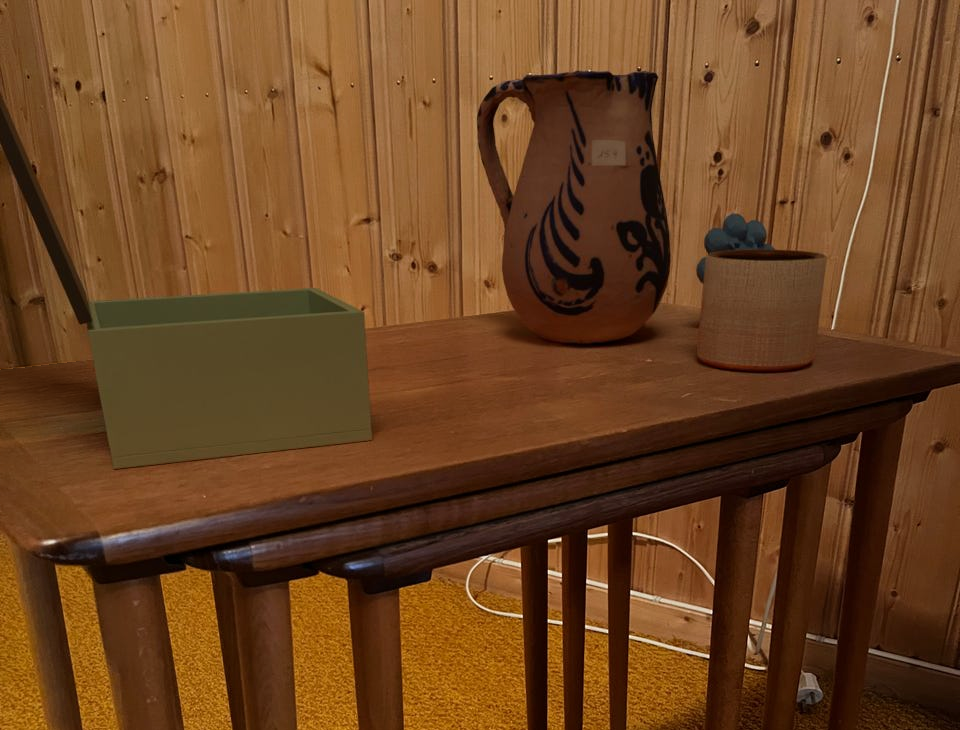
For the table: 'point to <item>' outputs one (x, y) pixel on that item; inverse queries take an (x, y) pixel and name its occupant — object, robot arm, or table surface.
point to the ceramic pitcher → (582, 205)
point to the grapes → (734, 238)
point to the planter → (760, 309)
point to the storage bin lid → (42, 215)
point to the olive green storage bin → (229, 374)
